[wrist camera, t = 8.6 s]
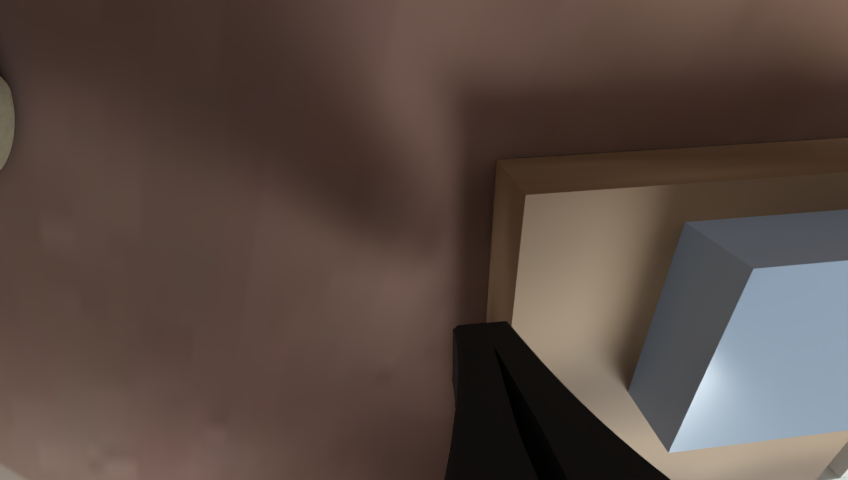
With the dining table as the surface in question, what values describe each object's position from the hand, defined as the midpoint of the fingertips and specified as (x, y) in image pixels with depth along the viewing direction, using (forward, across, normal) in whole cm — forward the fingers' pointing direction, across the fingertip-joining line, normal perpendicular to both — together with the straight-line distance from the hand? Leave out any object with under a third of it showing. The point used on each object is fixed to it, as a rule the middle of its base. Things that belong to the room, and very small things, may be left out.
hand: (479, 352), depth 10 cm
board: (+3, -8, +4) cm, 9 cm away
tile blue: (+1, -8, 0) cm, 8 cm away
